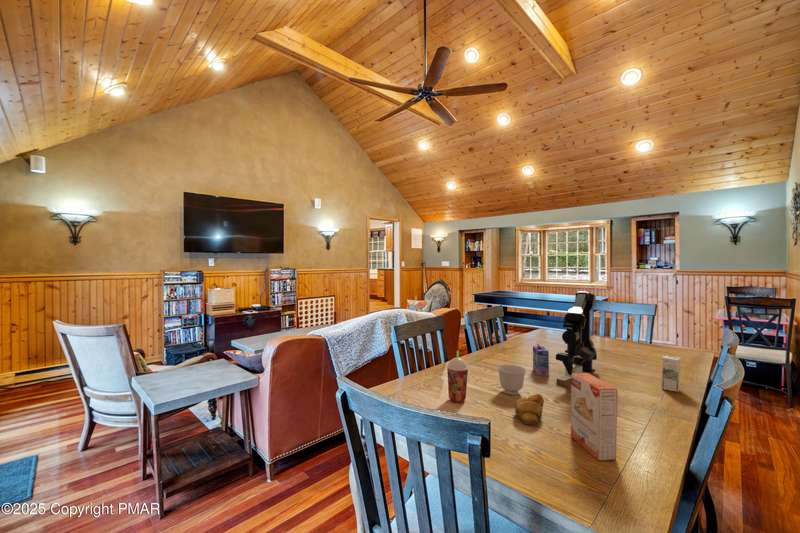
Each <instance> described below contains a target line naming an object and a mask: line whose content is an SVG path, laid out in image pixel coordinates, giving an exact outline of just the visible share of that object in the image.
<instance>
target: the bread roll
mask: <svg viewBox="0 0 800 533" xmlns="http://www.w3.org/2000/svg"><path fill="white" fill-rule="evenodd" d="M544 403H545V399H544V397H543V396H542V395H541V394H539V393H534V394H531V395H530V396H528V397H526V396H525V397H521V398H518V399H517V400H516V402H515V404H514V412H515V416H516V417H517V418H518V419H520V420H521V421H522V423H525V424H527V425H535V424H537V422H538V421H539V420H541V419H542V416H543V407H544Z"/></svg>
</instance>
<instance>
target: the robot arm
mask: <svg viewBox="0 0 800 533" xmlns="http://www.w3.org/2000/svg"><path fill="white" fill-rule="evenodd" d="M596 301H597V297H596V295H595V294H594V293H591V292H588V291H581V290H580V291H576V292H575V298H574V303H573V306H572V307H571V308H569V309H568V310H567V312H566V313H565V314H564V319H563V324H562V327H563V328H566V330H565V331H564V332H563V333H562V335H561V338H562V340H563V343H565V345H567V346H566V348H567V349H565V350H564V352H558V353H557V354H555V360H556V361H560V362H562V364H563V366H564V369H565V368H566V370H567V372H568V374H569V375H572V368H573V364H577V365H580V366H583V368H582V372H585V373H591V372H593V371H596V368H593V361H595V360H598V359H597V358H598V355H597V350H596V348H595V344H594V342H593V340H592V339H591V324H592V323H591V317H592V316H591V315H592V314H591V311H592V309H593V308H594V306H595V304H596Z"/></svg>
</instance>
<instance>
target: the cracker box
mask: <svg viewBox="0 0 800 533" xmlns="http://www.w3.org/2000/svg"><path fill="white" fill-rule="evenodd" d="M570 391H571V392H570V395H571V398H570V402H571V403H570V437H571V438H572V439H573V440H574V441H576V442H577V443H578V445H580V446H581V447H582V448H583V449H584V450H586V451H587V453H588V454H590V455H591V456H592V457H593V458H594V459H595V460H596V461H598V462H599V461H600V462H602V461H616V460H617V436H618V434H617V430H618V429H617V425H618V422H617V421H618V388H616V387H614V386H613V385H611V384H609V383H607V382H605V381H603V380H601V379H599V378H598V377H597V376H594V375H593V374H590V372H582V373H572V379H571V389H570Z"/></svg>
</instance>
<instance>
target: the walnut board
mask: <svg viewBox="0 0 800 533" xmlns="http://www.w3.org/2000/svg"><path fill="white" fill-rule="evenodd" d="M571 379H572V378H571V377H568V376H565V375H564V376H560V377H556V385H559V386H562V387H564V388H567V389H570V390H571Z"/></svg>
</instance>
